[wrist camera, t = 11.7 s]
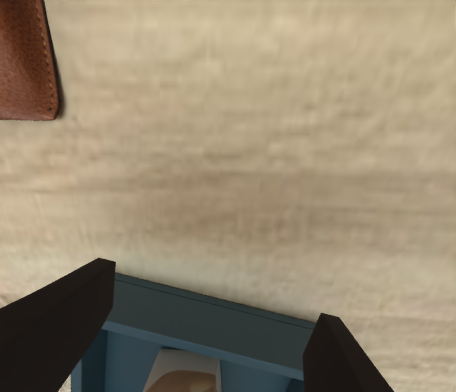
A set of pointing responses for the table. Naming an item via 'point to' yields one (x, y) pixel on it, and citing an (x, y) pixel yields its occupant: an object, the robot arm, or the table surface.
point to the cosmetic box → (184, 372)
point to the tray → (191, 340)
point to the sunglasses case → (27, 63)
